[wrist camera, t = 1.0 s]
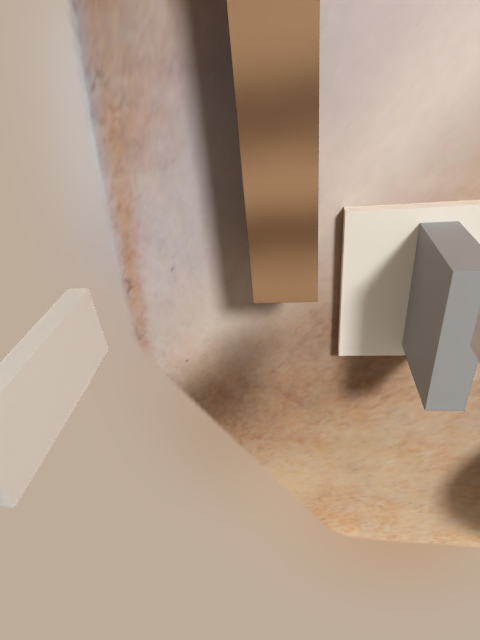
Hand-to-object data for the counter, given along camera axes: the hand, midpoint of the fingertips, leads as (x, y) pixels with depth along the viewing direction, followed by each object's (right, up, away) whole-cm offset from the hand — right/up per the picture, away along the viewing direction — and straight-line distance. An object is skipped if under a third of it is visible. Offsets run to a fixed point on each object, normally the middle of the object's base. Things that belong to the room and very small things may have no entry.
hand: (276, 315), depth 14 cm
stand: (+12, +3, +16) cm, 21 cm away
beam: (+1, +13, +11) cm, 17 cm away
